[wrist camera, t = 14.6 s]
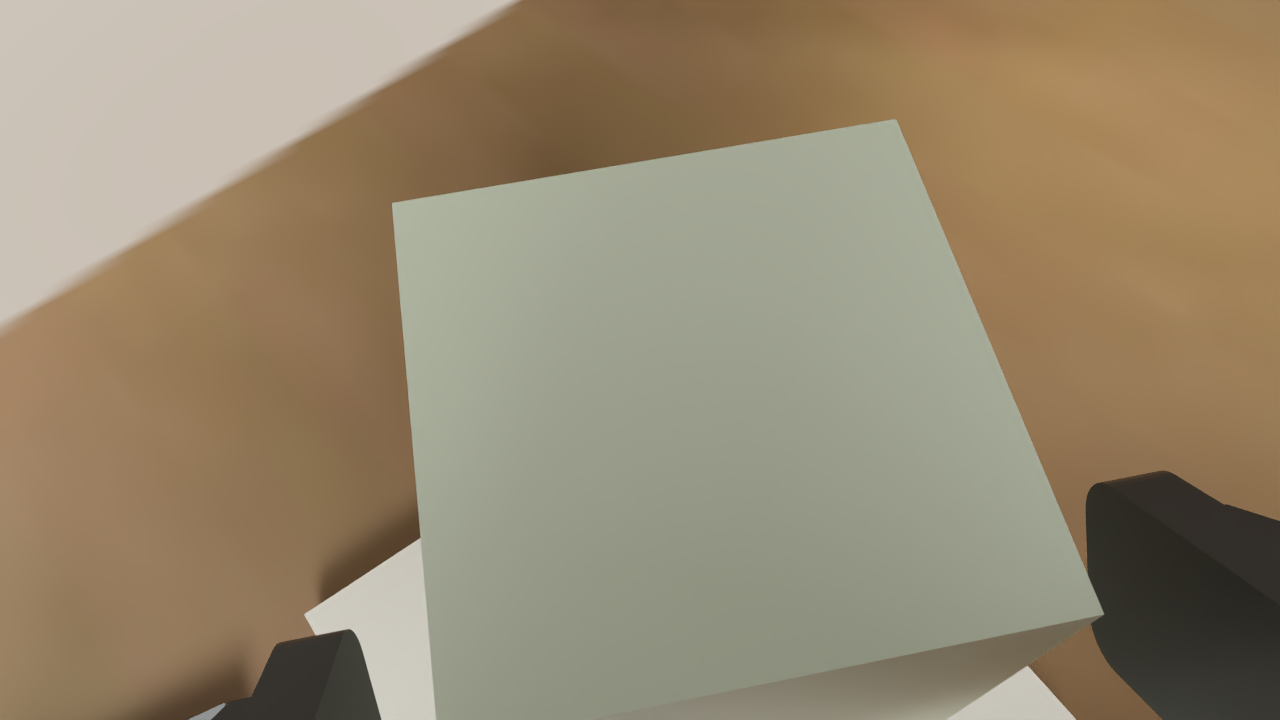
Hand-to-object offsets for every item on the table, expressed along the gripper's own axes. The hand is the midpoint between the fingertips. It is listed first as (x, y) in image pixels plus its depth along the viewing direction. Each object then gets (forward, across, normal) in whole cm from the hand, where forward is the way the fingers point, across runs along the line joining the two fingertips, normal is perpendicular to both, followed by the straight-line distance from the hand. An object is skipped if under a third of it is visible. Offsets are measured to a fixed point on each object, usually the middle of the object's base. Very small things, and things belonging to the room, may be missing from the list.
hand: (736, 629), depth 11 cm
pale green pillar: (+7, 0, +6) cm, 9 cm away
